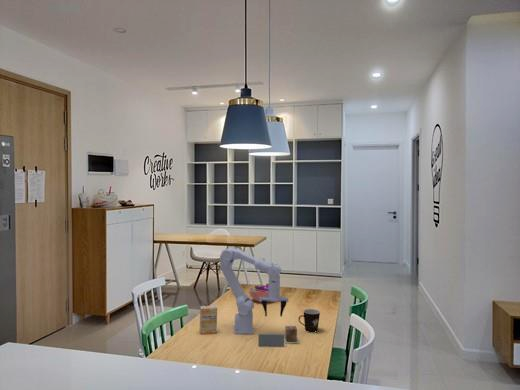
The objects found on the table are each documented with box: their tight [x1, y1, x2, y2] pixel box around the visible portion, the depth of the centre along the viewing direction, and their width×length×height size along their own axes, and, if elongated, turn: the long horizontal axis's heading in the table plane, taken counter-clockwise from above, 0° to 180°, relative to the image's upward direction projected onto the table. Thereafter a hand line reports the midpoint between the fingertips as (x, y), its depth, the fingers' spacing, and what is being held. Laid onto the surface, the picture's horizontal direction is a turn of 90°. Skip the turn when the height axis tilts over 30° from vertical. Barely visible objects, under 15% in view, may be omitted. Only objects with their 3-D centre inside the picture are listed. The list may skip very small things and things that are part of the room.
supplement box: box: [199, 305, 218, 335], centre depth 200 cm, size 8×5×13 cm, turn 105°
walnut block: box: [284, 325, 298, 342], centre depth 191 cm, size 5×5×6 cm
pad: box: [284, 336, 300, 344], centre depth 191 cm, size 7×7×1 cm
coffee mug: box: [298, 308, 321, 333], centre depth 206 cm, size 12×9×10 cm
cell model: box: [248, 283, 269, 303], centre depth 260 cm, size 17×20×11 cm
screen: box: [257, 333, 285, 347], centre depth 185 cm, size 12×1×6 cm, turn 92°
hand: (273, 315), depth 200 cm, fingers open, 7 cm apart
